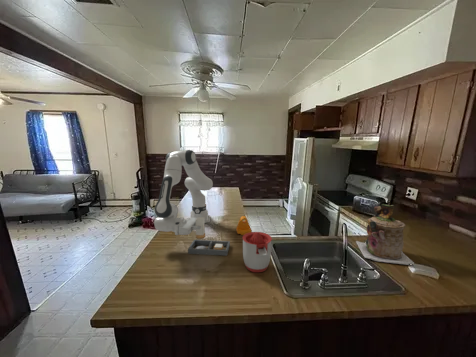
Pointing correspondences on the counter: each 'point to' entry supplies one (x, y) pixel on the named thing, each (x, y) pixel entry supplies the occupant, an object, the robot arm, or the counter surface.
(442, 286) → the counter surface
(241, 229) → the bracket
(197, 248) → the grey divided tray
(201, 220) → the white upright block
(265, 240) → the citrus juicer
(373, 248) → the cookie jar
